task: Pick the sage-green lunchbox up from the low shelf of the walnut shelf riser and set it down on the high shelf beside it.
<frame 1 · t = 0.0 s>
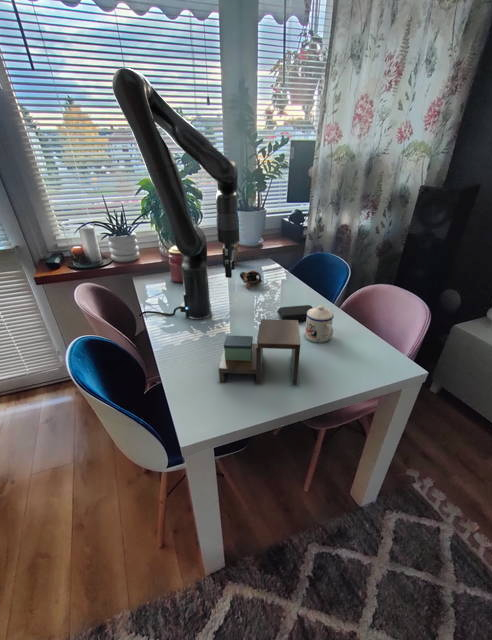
hand: (230, 273, 119), 17 cm above the table, tool pointing down, fingers open, 8 cm apart
teacup with lid: (319, 339, 113), on the table
shelf riser: (259, 369, 98), on the table
lunchbox: (239, 355, 95), point 5 cm above the table, touching shelf riser
pottery mug: (250, 286, 156), on the table
carrying case: (297, 318, 127), on the table
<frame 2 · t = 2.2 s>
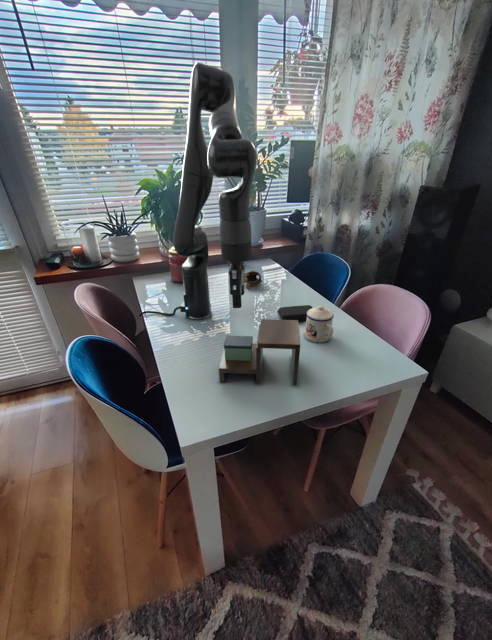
hand: (238, 300, 88), 21 cm above the table, tool pointing down, fingers open, 8 cm apart
nothing on the table moved.
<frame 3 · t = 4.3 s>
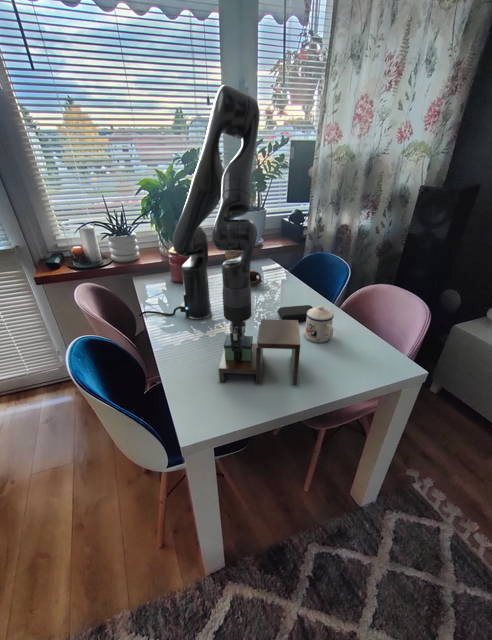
hand: (239, 353, 95), 6 cm above the table, tool pointing down, fingers closed on lunchbox, 5 cm apart
lunchbox: (239, 355, 95), point 5 cm above the table, touching gripper, shelf riser
everything else where it was.
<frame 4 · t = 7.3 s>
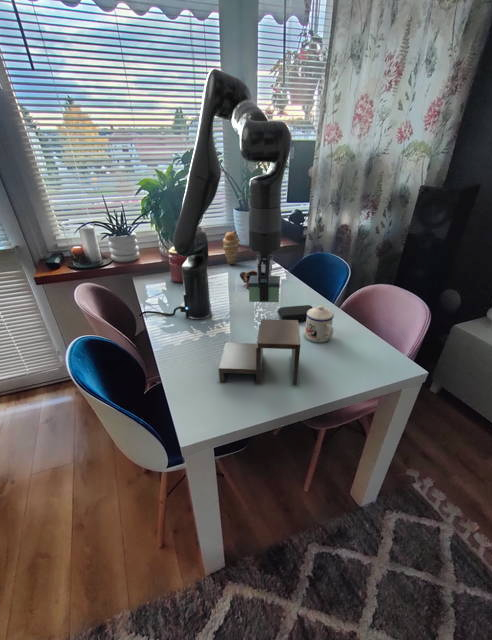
hand: (264, 295, 84), 24 cm above the table, tool pointing down, fingers closed on lunchbox, 5 cm apart
lunchbox: (264, 297, 85), point 23 cm above the table, touching gripper
everything else where it was.
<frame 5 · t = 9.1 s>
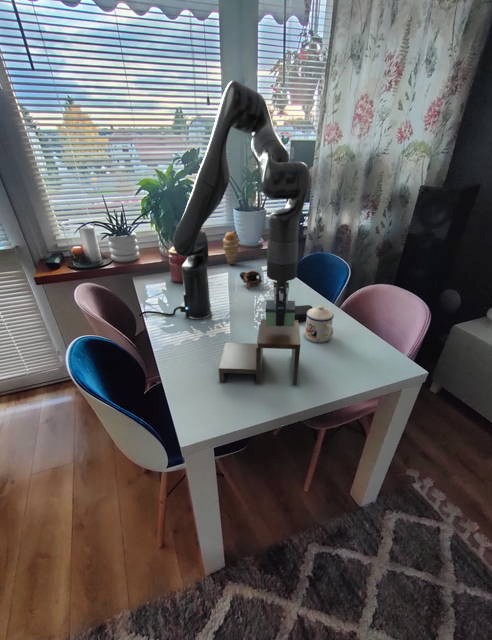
hand: (279, 319, 88), 17 cm above the table, tool pointing down, fingers closed on lunchbox, 5 cm apart
lunchbox: (279, 321, 88), point 16 cm above the table, touching gripper
everything else where it was.
when the fingers open (14 cm above the table, at t = 10.4 s): lunchbox stays where it is, resting on shelf riser.
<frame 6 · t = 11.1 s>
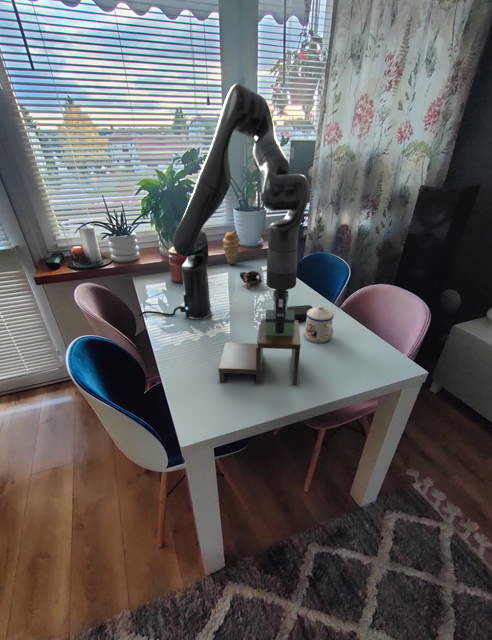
hand: (279, 325, 89), 15 cm above the table, tool pointing down, fingers open, 8 cm apart
lunchbox: (279, 330, 90), point 13 cm above the table, touching shelf riser
everything else where it was.
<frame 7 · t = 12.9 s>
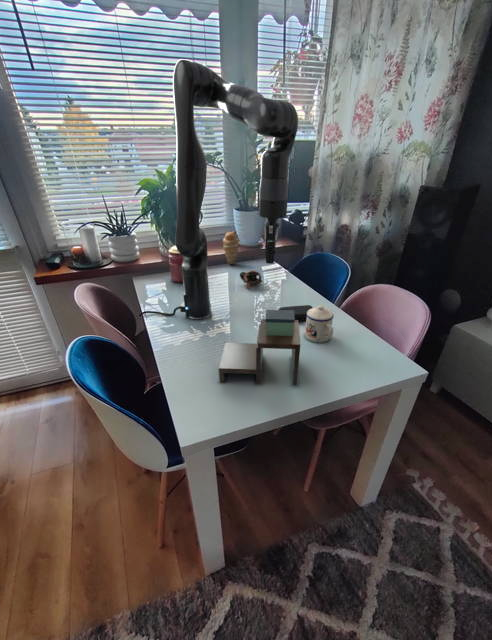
hand: (270, 258, 94), 29 cm above the table, tool pointing down, fingers open, 8 cm apart
nothing on the table moved.
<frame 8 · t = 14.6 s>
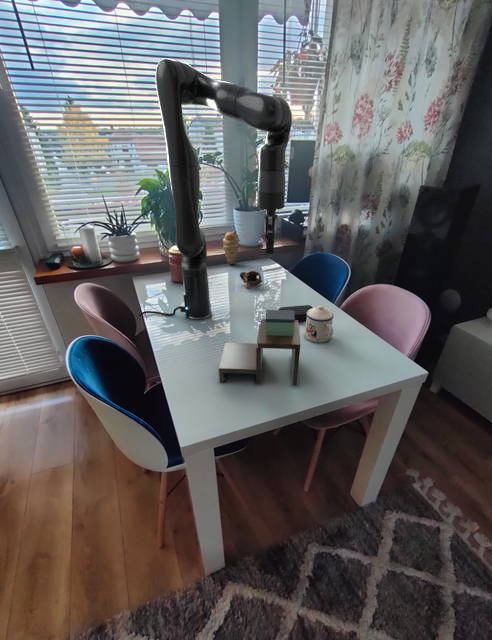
hand: (270, 249, 98), 30 cm above the table, tool pointing down, fingers open, 8 cm apart
nothing on the table moved.
at the end: lunchbox inside the target area on the shelf riser (0.3 cm from its centre), point 13.5 cm above the shelf riser's base; lunchbox tilted 0°; the gripper is holding nothing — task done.
